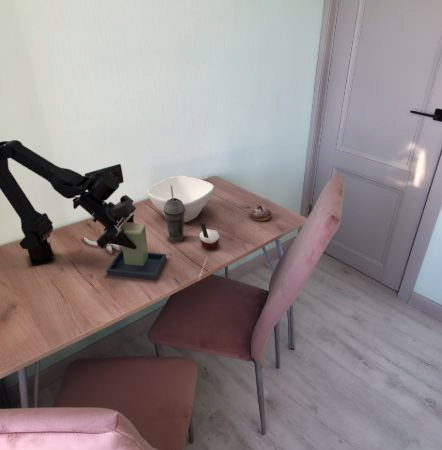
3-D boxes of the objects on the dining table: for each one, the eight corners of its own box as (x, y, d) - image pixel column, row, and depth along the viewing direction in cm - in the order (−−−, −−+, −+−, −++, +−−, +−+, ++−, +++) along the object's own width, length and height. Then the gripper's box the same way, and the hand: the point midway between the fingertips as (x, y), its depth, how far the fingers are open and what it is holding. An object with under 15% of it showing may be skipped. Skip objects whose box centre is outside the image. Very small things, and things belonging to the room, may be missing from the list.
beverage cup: (170, 246, 137) (166, 193, 127) (163, 236, 143) (158, 185, 132) (190, 241, 140) (187, 188, 129) (182, 231, 146) (178, 180, 135)
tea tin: (143, 266, 123) (139, 232, 116) (124, 264, 123) (119, 230, 117) (148, 256, 127) (145, 223, 121) (129, 254, 128) (125, 221, 121)
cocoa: (212, 238, 141) (212, 208, 135) (225, 245, 138) (225, 214, 131) (192, 249, 136) (190, 218, 129) (204, 256, 132) (204, 225, 126)
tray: (156, 281, 121) (155, 275, 120) (107, 276, 123) (106, 270, 122) (166, 260, 130) (165, 253, 129) (121, 255, 133) (120, 249, 131)
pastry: (246, 216, 155) (247, 204, 153) (260, 210, 160) (260, 198, 157) (262, 223, 150) (262, 212, 148) (275, 217, 155) (276, 205, 152)
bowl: (222, 211, 159) (221, 184, 152) (188, 236, 143) (187, 207, 137) (177, 198, 169) (175, 172, 163) (141, 220, 153) (138, 192, 147)
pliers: (108, 226, 146) (128, 243, 136) (109, 230, 147) (129, 247, 137) (82, 235, 141) (101, 254, 131) (83, 239, 141) (102, 258, 132)
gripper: (100, 207, 106) (145, 246, 110) (126, 179, 121) (164, 214, 126) (78, 230, 111) (121, 266, 115) (105, 200, 127) (142, 233, 131)
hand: (138, 243), depth 122 cm, fingers closed on tea tin, 5 cm apart
